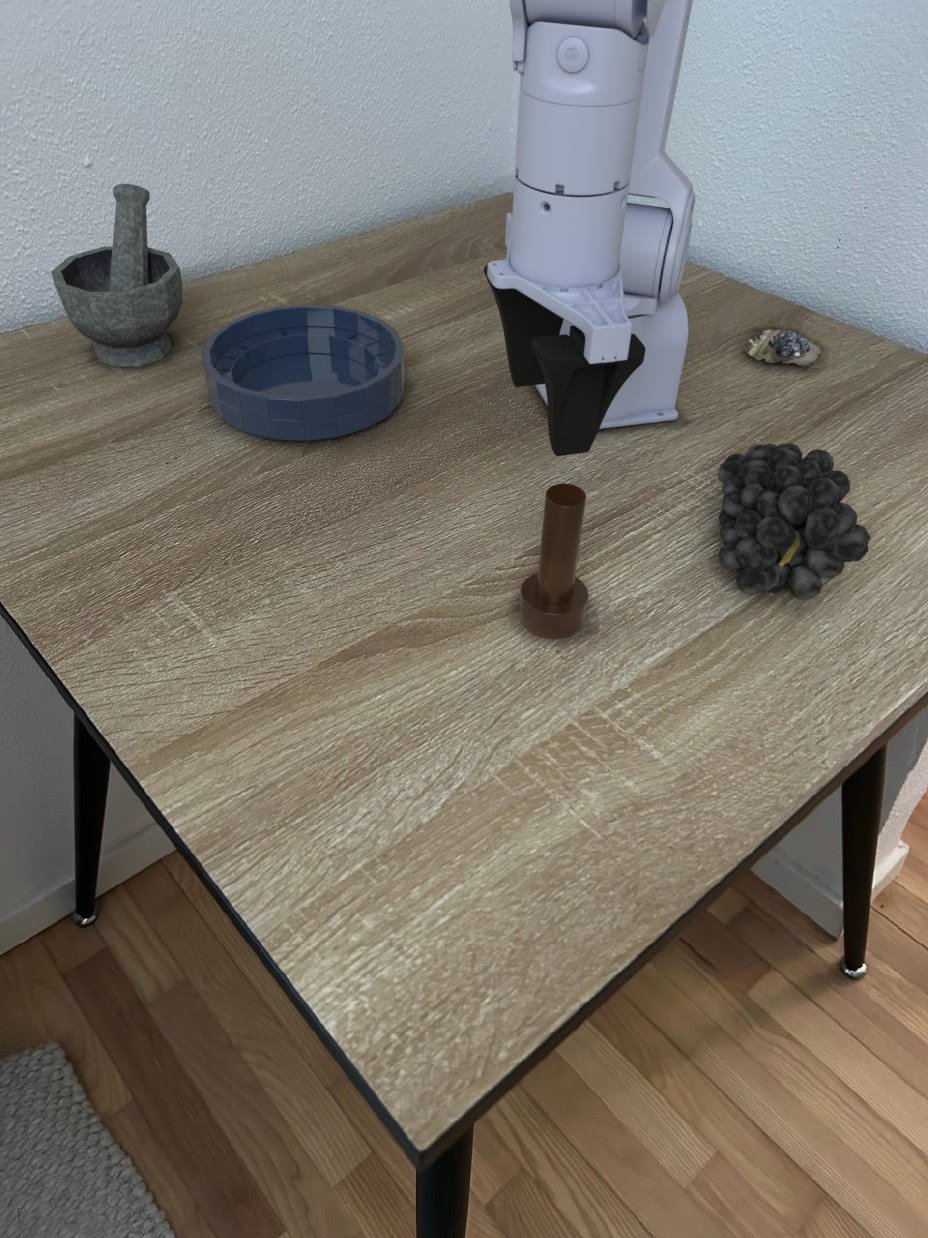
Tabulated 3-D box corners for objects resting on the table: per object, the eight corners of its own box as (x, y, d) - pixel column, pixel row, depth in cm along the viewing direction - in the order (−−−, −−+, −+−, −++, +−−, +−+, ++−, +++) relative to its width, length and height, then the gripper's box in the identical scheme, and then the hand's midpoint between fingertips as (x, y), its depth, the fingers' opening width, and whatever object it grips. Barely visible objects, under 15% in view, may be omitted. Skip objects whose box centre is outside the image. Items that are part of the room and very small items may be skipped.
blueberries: (743, 368, 82) (748, 348, 81) (739, 326, 88) (743, 306, 87) (825, 376, 82) (831, 356, 80) (815, 333, 88) (821, 313, 86)
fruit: (745, 364, 64) (785, 493, 53) (854, 407, 65) (916, 542, 54) (680, 467, 70) (704, 604, 58) (782, 505, 71) (825, 646, 60)
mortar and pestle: (163, 384, 78) (132, 234, 70) (53, 371, 79) (10, 221, 71) (213, 321, 86) (191, 180, 78) (113, 310, 87) (81, 170, 79)
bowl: (384, 341, 84) (382, 296, 82) (422, 434, 74) (422, 387, 71) (204, 358, 81) (196, 312, 79) (217, 458, 71) (209, 409, 68)
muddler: (572, 590, 61) (588, 469, 55) (594, 633, 58) (613, 511, 52) (510, 599, 60) (520, 478, 54) (530, 644, 57) (542, 521, 51)
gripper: (457, 133, 53) (453, 362, 62) (540, 240, 42) (520, 495, 52) (580, 126, 54) (558, 351, 63) (690, 227, 44) (644, 478, 53)
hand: (549, 415), depth 58 cm, fingers open, 7 cm apart
